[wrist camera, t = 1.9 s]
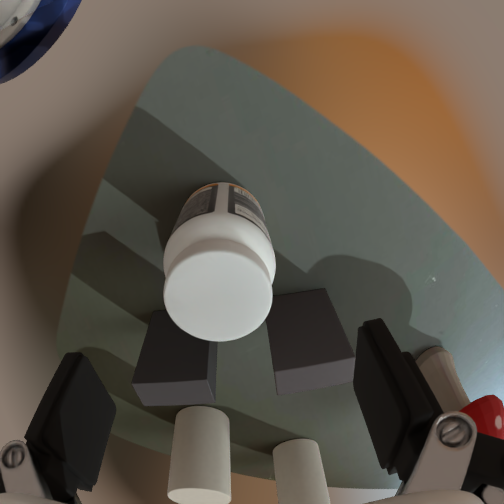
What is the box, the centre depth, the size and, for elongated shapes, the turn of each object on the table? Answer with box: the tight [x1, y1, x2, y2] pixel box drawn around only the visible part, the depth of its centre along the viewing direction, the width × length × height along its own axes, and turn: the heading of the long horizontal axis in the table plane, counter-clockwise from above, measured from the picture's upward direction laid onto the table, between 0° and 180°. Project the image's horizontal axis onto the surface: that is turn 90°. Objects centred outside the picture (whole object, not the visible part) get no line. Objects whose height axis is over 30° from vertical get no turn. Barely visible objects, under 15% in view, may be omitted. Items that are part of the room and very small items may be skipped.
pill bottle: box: [163, 182, 276, 341], centre depth 18 cm, size 6×6×10 cm
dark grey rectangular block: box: [266, 288, 355, 395], centre depth 22 cm, size 5×2×8 cm, turn 98°
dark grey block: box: [132, 310, 218, 406], centre depth 22 cm, size 5×2×8 cm, turn 98°
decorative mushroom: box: [415, 346, 504, 439], centre depth 24 cm, size 10×9×15 cm
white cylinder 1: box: [167, 406, 231, 504], centre depth 28 cm, size 6×6×10 cm
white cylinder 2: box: [273, 439, 331, 504], centre depth 32 cm, size 6×6×10 cm
